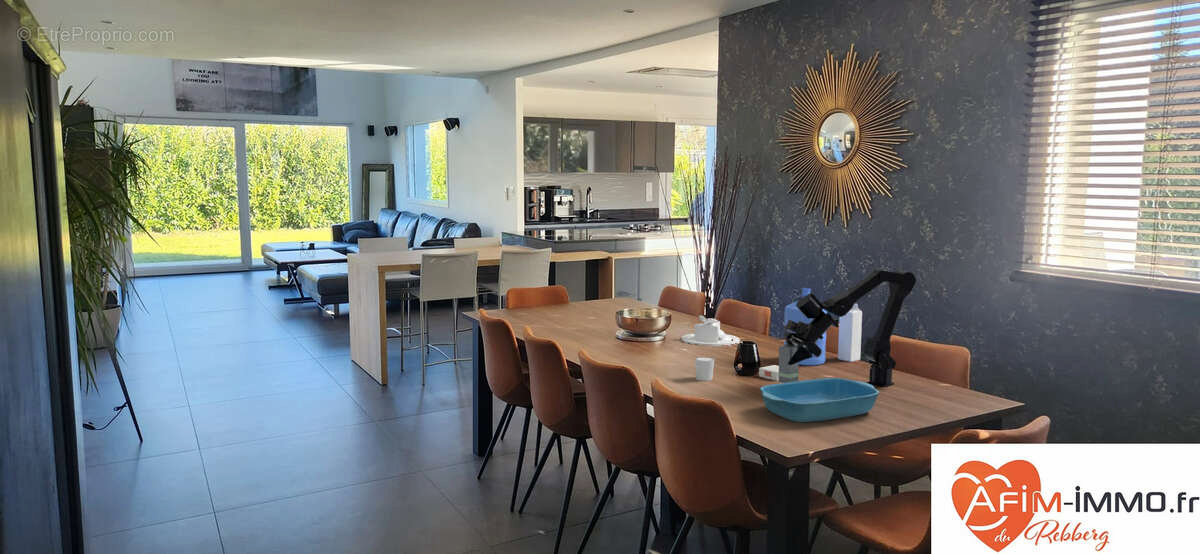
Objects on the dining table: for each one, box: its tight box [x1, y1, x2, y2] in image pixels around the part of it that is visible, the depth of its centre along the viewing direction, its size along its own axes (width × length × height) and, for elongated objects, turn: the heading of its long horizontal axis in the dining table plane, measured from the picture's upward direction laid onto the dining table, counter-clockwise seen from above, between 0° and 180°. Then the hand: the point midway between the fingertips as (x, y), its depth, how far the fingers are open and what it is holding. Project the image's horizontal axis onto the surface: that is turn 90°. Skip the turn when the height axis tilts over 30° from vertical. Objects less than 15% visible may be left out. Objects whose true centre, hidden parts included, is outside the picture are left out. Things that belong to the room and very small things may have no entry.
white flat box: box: [758, 364, 779, 382], centre depth 285 cm, size 8×8×3 cm
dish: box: [681, 315, 741, 347], centre depth 350 cm, size 25×25×11 cm
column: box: [778, 344, 800, 383], centre depth 268 cm, size 5×5×12 cm
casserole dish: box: [760, 377, 880, 423], centre depth 242 cm, size 37×22×7 cm, turn 113°
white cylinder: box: [694, 356, 715, 382], centre depth 281 cm, size 7×7×7 cm
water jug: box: [783, 287, 828, 367], centre depth 308 cm, size 16×16×28 cm
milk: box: [837, 303, 863, 363], centre depth 312 cm, size 6×6×22 cm
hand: (784, 362), depth 268 cm, fingers closed on column, 6 cm apart
